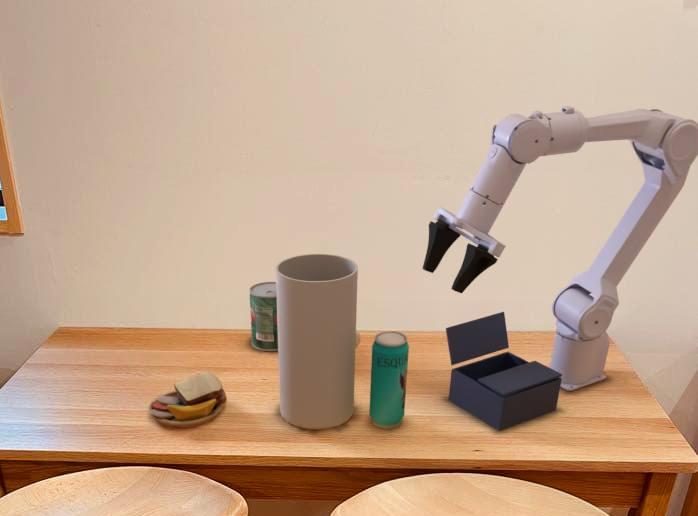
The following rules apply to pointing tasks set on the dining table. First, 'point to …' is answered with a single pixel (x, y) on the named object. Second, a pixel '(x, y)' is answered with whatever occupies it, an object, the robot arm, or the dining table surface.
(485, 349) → the flap
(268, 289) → the canned tomato
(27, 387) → the dining table surface
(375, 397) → the beverage can
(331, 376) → the cylinder vase
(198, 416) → the toy sandwich meal
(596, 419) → the dining table surface
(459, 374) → the carton
